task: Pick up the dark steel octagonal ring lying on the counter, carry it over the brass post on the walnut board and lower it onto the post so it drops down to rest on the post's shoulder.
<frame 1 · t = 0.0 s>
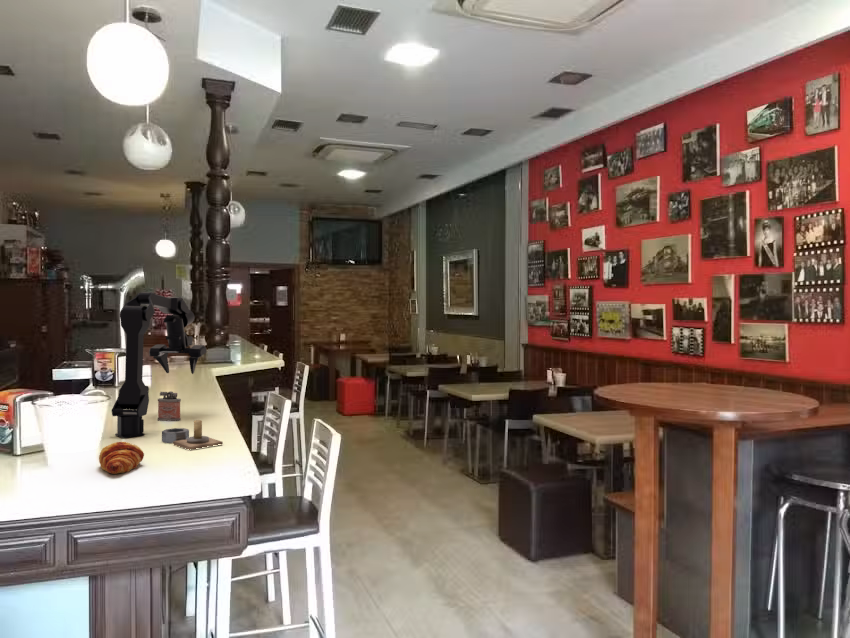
hand: (180, 373, 231), 15 cm above the counter, tool pointing down, fingers open, 9 cm apart
peg stand: (197, 444, 185), on the counter
lighter: (169, 420, 223), on the counter
croissant: (121, 468, 160), on the counter
ring: (175, 440, 190), on the counter
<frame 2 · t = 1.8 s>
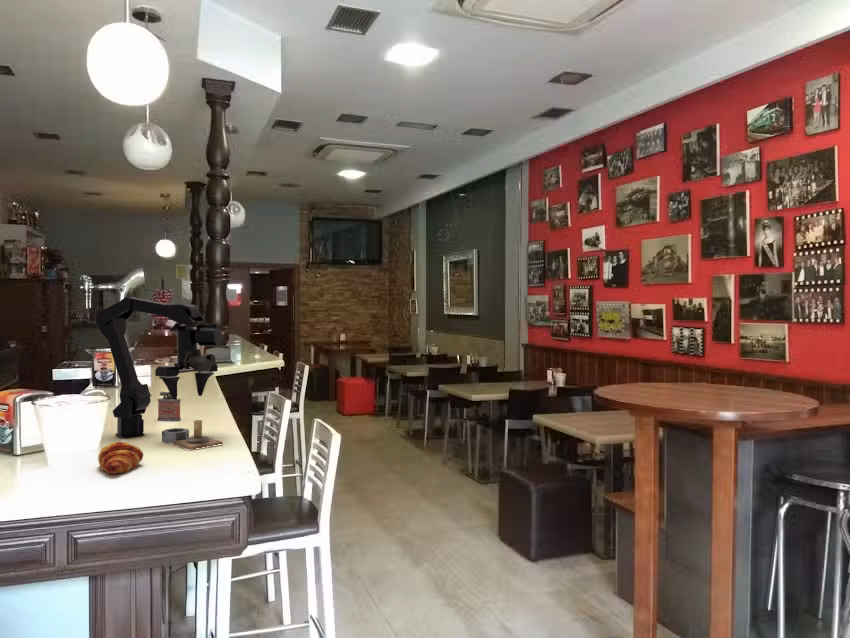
hand: (187, 397, 193), 12 cm above the counter, tool pointing down, fingers open, 9 cm apart
nothing on the counter moved.
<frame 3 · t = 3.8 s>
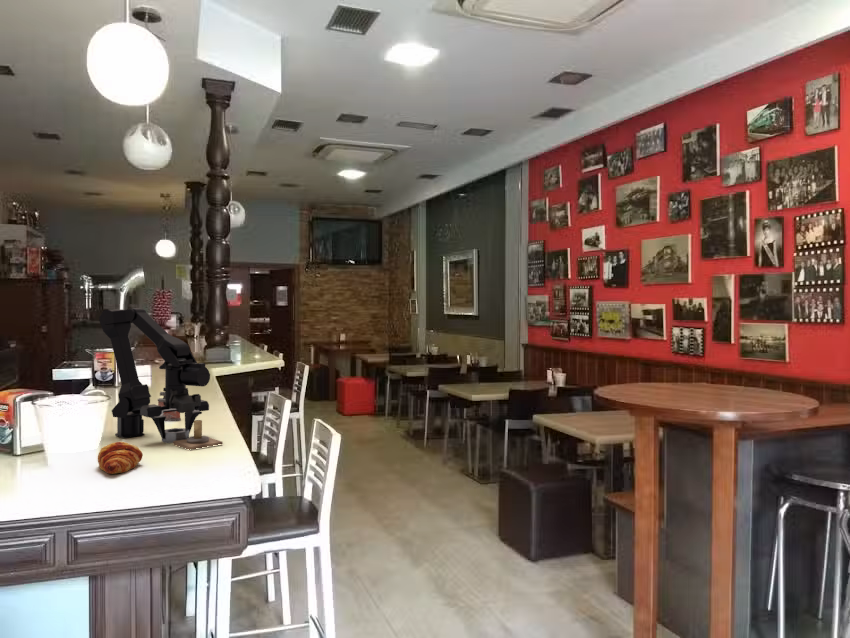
hand: (175, 437, 190), 1 cm above the counter, tool pointing down, fingers closed on ring, 7 cm apart
ring: (175, 440, 190), on the counter, touching gripper
everything else where it was.
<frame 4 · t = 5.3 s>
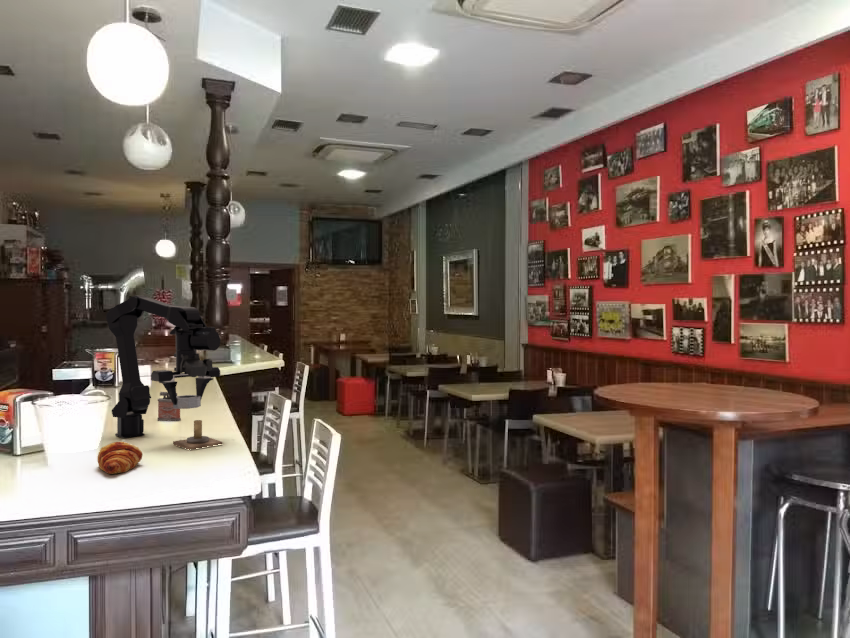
hand: (187, 403, 188), 12 cm above the counter, tool pointing down, fingers closed on ring, 7 cm apart
ring: (187, 406, 188), point 11 cm above the counter, touching gripper
everything else where it was.
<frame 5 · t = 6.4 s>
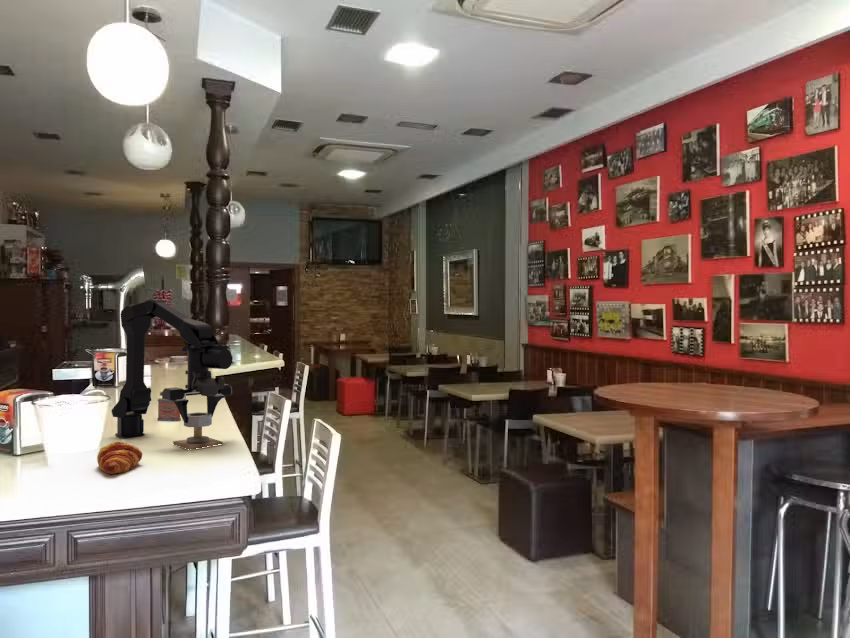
hand: (197, 421, 185), 7 cm above the counter, tool pointing down, fingers closed on ring, 7 cm apart
ring: (197, 424, 185), point 6 cm above the counter, touching gripper
everything else where it was.
when the fingers open (6 cm above the counter, at t = 7.0 s): ring drops 3 cm, resting on peg stand.
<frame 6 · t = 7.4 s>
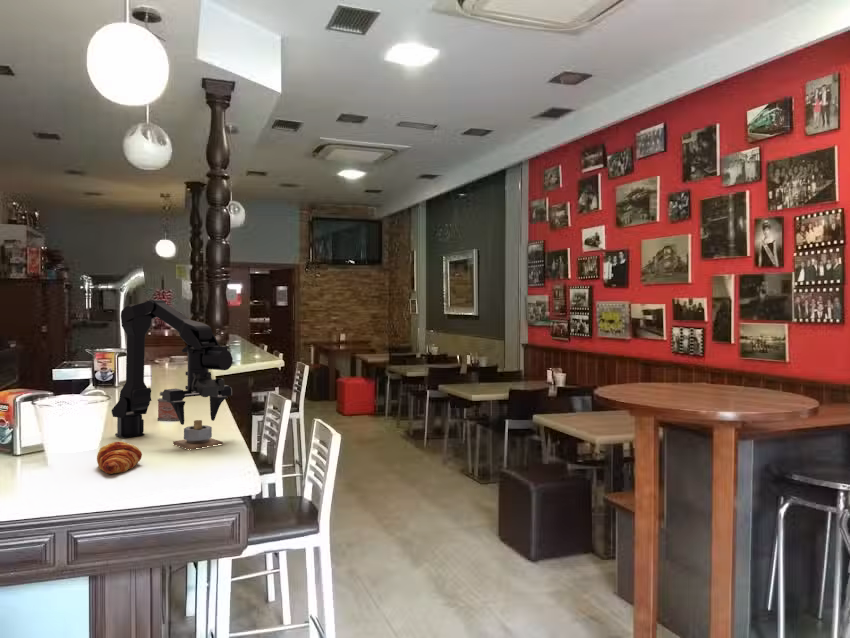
hand: (197, 422, 185), 6 cm above the counter, tool pointing down, fingers open, 9 cm apart
ring: (197, 438, 185), point 2 cm above the counter, touching peg stand
everything else where it was.
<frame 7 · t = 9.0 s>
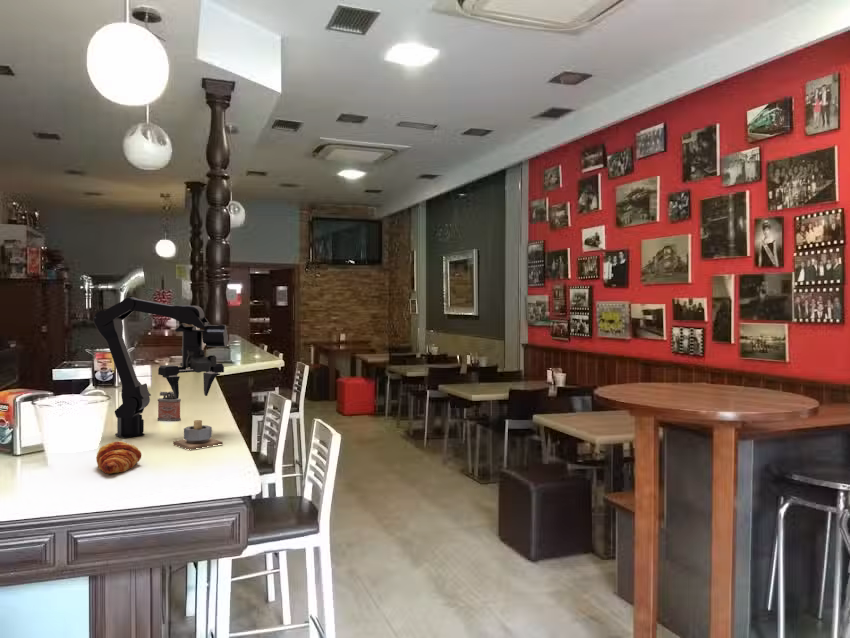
hand: (191, 397, 198), 12 cm above the counter, tool pointing down, fingers open, 9 cm apart
nothing on the counter moved.
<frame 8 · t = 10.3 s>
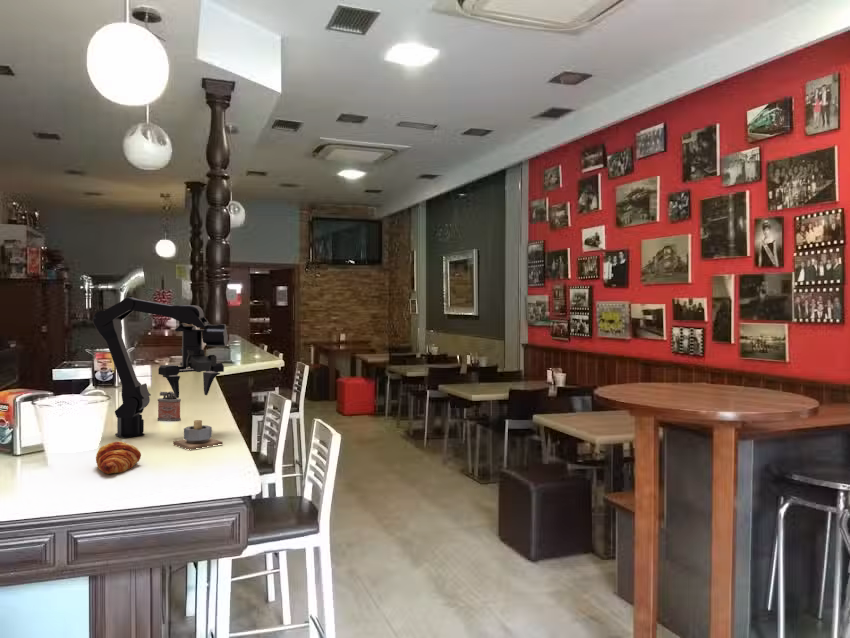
hand: (191, 396, 198), 12 cm above the counter, tool pointing down, fingers open, 9 cm apart
nothing on the counter moved.
at the end: ring 0.0 cm off-centre on the peg stand, point 2.0 cm above the peg stand's base; the gripper is holding nothing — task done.
